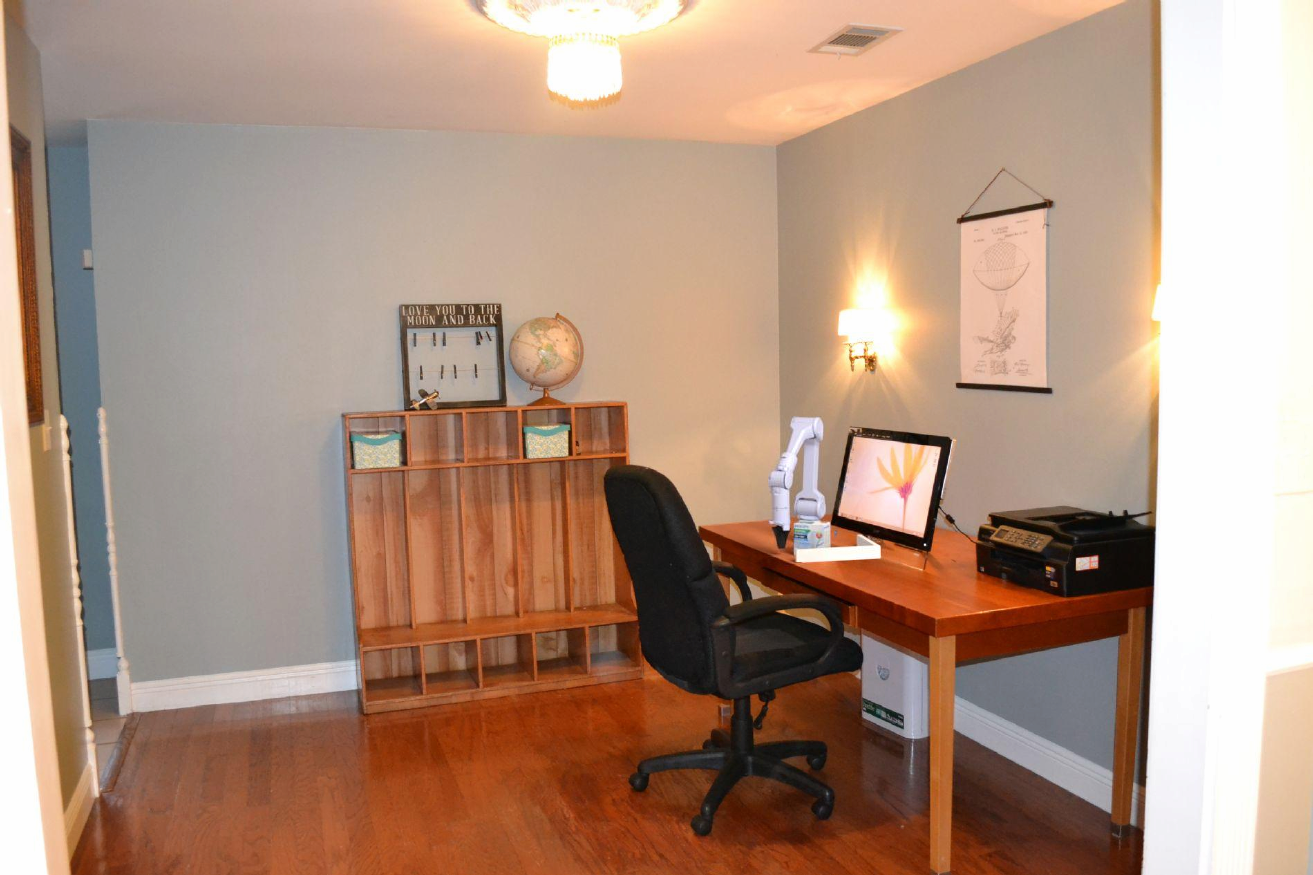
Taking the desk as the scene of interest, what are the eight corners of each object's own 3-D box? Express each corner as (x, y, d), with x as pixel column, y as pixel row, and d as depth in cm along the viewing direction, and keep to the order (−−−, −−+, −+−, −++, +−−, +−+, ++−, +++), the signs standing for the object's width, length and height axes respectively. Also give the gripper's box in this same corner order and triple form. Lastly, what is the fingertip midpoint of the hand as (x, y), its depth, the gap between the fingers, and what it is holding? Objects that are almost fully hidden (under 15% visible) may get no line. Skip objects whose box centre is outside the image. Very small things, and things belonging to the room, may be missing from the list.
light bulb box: (793, 555, 330) (792, 523, 329) (800, 551, 336) (799, 519, 335) (824, 558, 325) (824, 525, 324) (831, 554, 331) (830, 521, 330)
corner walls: (781, 550, 339) (781, 538, 338) (861, 546, 342) (861, 534, 342) (796, 562, 320) (796, 550, 319) (880, 558, 323) (880, 545, 322)
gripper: (763, 504, 336) (764, 544, 337) (773, 511, 322) (774, 553, 323) (784, 503, 337) (785, 543, 338) (795, 510, 322) (796, 552, 324)
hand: (781, 548), depth 331 cm, fingers closed
